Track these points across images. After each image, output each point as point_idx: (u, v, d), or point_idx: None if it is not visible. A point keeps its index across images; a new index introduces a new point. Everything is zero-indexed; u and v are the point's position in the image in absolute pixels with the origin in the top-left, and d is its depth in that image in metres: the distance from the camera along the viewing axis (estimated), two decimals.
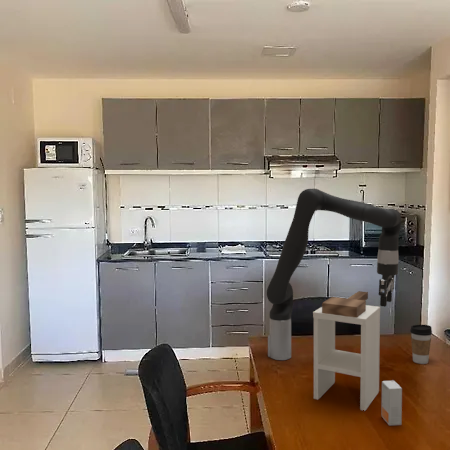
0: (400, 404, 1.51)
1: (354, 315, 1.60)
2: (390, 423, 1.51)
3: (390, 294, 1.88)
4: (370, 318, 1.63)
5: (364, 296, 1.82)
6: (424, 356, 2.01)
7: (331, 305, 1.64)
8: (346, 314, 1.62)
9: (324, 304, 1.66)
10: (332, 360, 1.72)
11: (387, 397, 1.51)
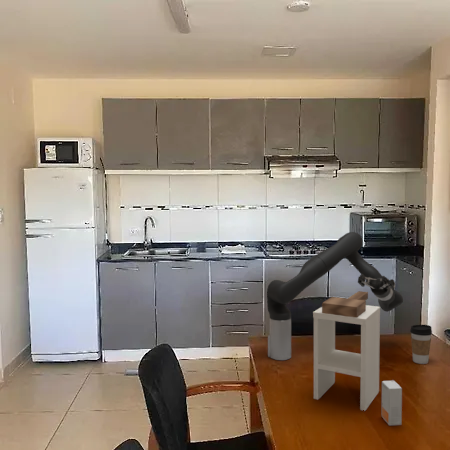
0: (400, 404, 1.51)
1: (354, 315, 1.60)
2: (390, 423, 1.51)
3: (364, 280, 2.00)
4: (370, 318, 1.63)
5: (364, 296, 1.82)
6: (424, 356, 2.01)
7: (331, 305, 1.64)
8: (346, 314, 1.62)
9: (324, 304, 1.66)
10: (332, 360, 1.72)
11: (387, 397, 1.51)
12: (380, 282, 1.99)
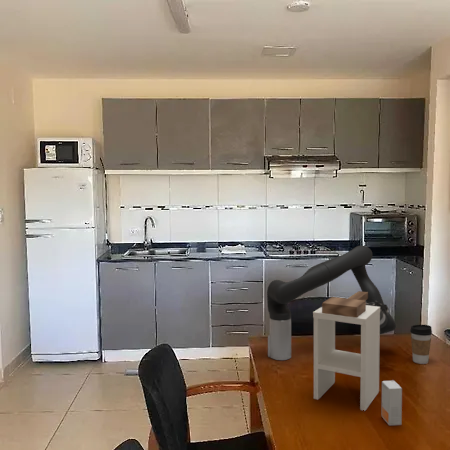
0: (400, 404, 1.51)
1: (354, 315, 1.60)
2: (390, 423, 1.51)
3: None
4: (370, 318, 1.63)
5: (364, 296, 1.82)
6: (424, 356, 2.01)
7: (331, 305, 1.64)
8: (346, 314, 1.62)
9: (324, 304, 1.66)
10: (332, 360, 1.72)
11: (387, 397, 1.51)
12: None
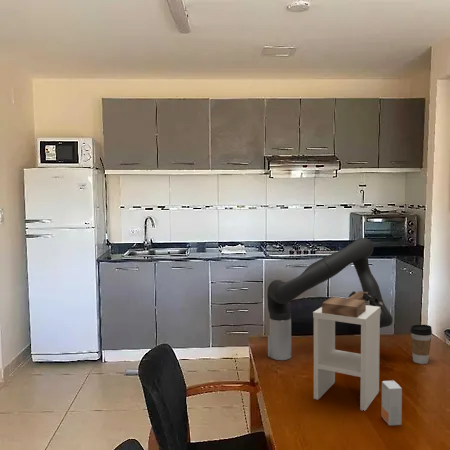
0: (400, 404, 1.51)
1: (354, 315, 1.60)
2: (390, 423, 1.51)
3: None
4: (370, 318, 1.63)
5: None
6: (424, 356, 2.01)
7: (331, 305, 1.64)
8: (346, 314, 1.62)
9: (324, 304, 1.66)
10: (332, 360, 1.72)
11: (387, 397, 1.51)
12: None
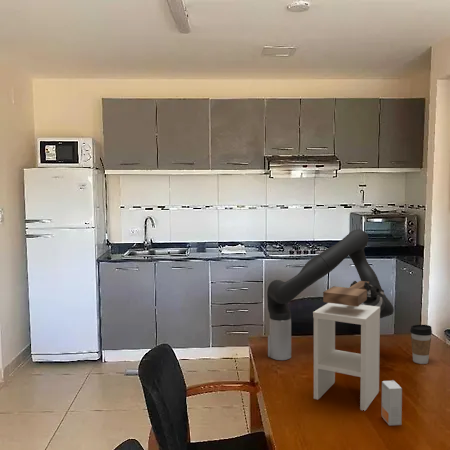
0: (400, 404, 1.51)
1: (355, 304, 1.61)
2: (390, 423, 1.51)
3: None
4: (370, 318, 1.63)
5: None
6: (424, 356, 2.01)
7: (332, 294, 1.65)
8: (347, 303, 1.63)
9: (325, 293, 1.66)
10: (332, 360, 1.72)
11: (387, 397, 1.51)
12: None
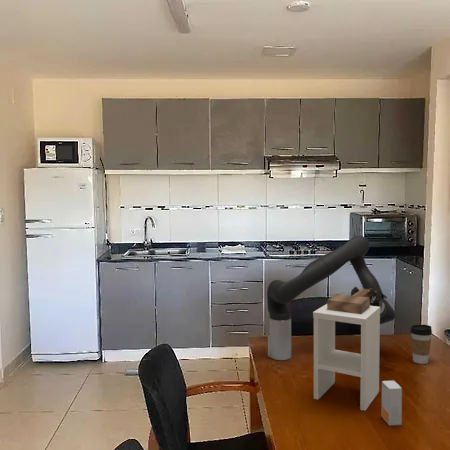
0: (400, 404, 1.51)
1: (359, 312, 1.64)
2: (390, 423, 1.51)
3: None
4: (370, 318, 1.63)
5: (368, 293, 1.86)
6: (424, 356, 2.01)
7: (336, 302, 1.68)
8: (351, 311, 1.66)
9: (329, 301, 1.70)
10: (332, 360, 1.72)
11: (387, 397, 1.51)
12: None
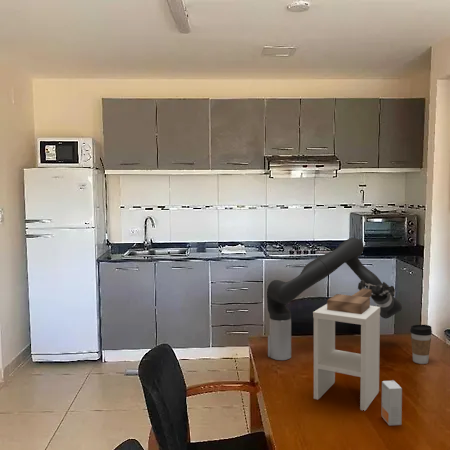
0: (400, 404, 1.51)
1: (359, 312, 1.64)
2: (390, 423, 1.51)
3: (364, 286, 2.01)
4: (370, 318, 1.63)
5: (368, 293, 1.86)
6: (424, 356, 2.01)
7: (336, 302, 1.68)
8: (351, 311, 1.66)
9: (329, 301, 1.70)
10: (332, 360, 1.72)
11: (387, 397, 1.51)
12: (380, 288, 2.00)
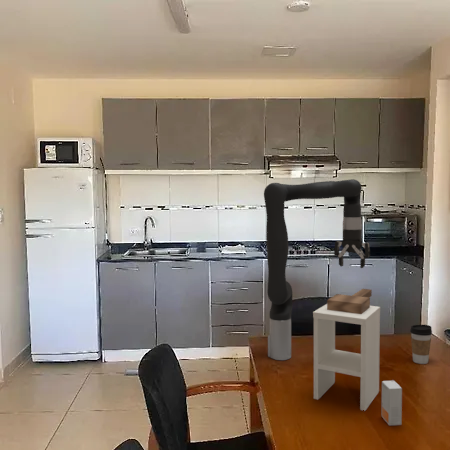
0: (400, 404, 1.51)
1: (359, 312, 1.64)
2: (390, 423, 1.51)
3: None
4: (370, 318, 1.63)
5: (368, 293, 1.86)
6: (424, 356, 2.01)
7: (336, 302, 1.68)
8: (351, 311, 1.66)
9: (329, 301, 1.70)
10: (332, 360, 1.72)
11: (387, 397, 1.51)
12: None
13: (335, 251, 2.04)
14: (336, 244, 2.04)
